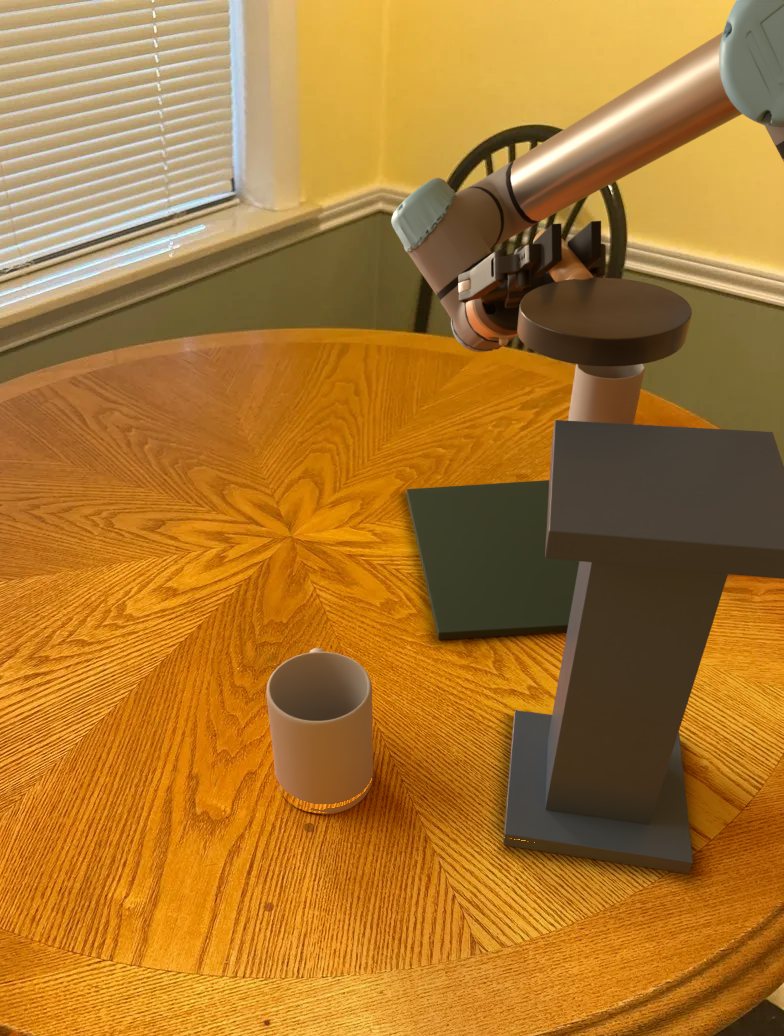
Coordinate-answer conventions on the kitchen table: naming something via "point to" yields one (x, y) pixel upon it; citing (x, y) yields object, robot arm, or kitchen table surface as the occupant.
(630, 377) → the cup
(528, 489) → the mat
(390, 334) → the kitchen table surface
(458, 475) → the kitchen table surface
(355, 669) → the mug
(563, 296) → the brown paddle
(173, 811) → the kitchen table surface
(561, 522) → the stand
